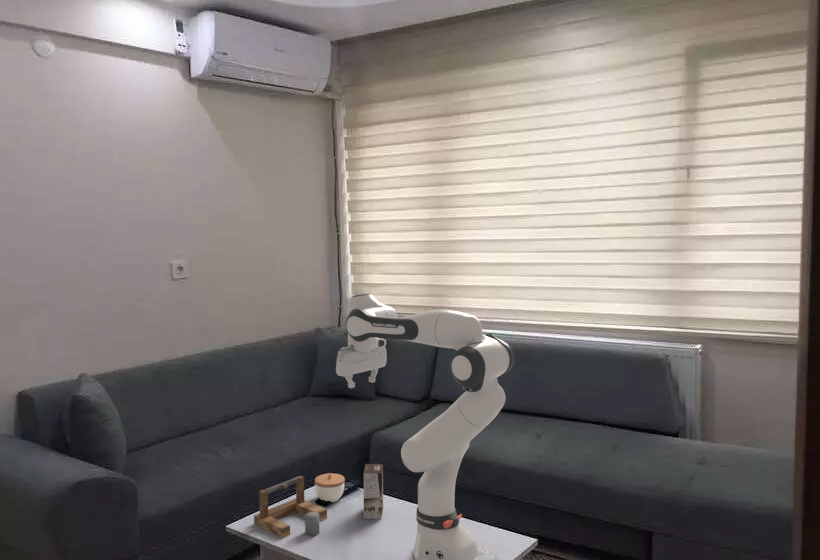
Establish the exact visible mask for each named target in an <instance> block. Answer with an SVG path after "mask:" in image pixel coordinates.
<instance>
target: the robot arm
mask: <svg viewBox="0 0 820 560" xmlns="http://www.w3.org/2000/svg"><path fill="white" fill-rule="evenodd" d="M345 320H346V321H345V329H346V332H347V346H342V347H340V349H339V350H338V351H337V357H336V365H335V373H336V375H337V376H340V377H344V378H345V380H346V381H347V387H348V388H349V389H353V388H356V382H355V381H353V377H354V375H356V374H360V373H365V372H369V371H370V376H368V382H369V383H371V384H372V383H376V378H377V377H376V376H377V374H378V373H379V369H381V368H384V367H386V365H387V361H388V355H387V354H388V353H387V348H386V346H387V340H386V339H389V340H391V339H392V340H399V341H408V342H412V343H418V344H423V345H428V346H433V347H436V348H437V347H438V348H445V349H453V350H455V352H453V353H452V355H451V357H450V359H449V370H450V373H451V375H452V377H453V379H454V380H455V382H456V383H457V384H458V385H459V387H460V388H461V389H462V390H463V391H465V392H463V393H462V394H461V395H460V396H459V397H458V398H457V399H456V400H455V401H454V402H453V403H452V404H451V405H450V406H449V407H448V408H447V409H446V410H445V411H444V412H442V413H441V414H440V415H438V416H437V417H436V418H434V419H433V420H432V421H431V422H429V423H428V424H427V425H425V426H424V427H423V428H421V429H420V430H419V431H417V433H416V434H414V435H413V436H411V437H410V438H408V439H407V440H406V441H404V442H403V445H402V447H401V449H400V455H401V456H400V457H401V460H402V463H403V465H404V466H405V467H406V468H407V469H408V470H409V471H411V472H413V473H422V472H424V473H423V474H422V476H421V477H420V478H419V480H418V483H417V506H416V519H415V521H416V523H417V527H416V536H415V541H414V545H413V546H414V547H413V549H412V556H413V558H414V560H474V559H475V557H477V555H478V553H479V552H478V551H479V550H478V544H477V540H476V539H475V537H473V536H472V535H471V533H470V532H469V531H468V530H467V529H466V528H465V527H464V526H463V525H462V523H461V522H460V519H462V518H463V514H462V513H460V514H459V515H458V512H457V510H456V507H455V502H456V499H455V497H456V496H455V493H456V483H457V482H456V481H457V477H458V473H459V469H460V466H461V463H462V460H463V458H464V455H465V454H466V452H467V450H468V449H469V448H470V444H471V441H472V440H473V439H474V438H476V436H477V435H478V434H479V433H481V432H482V431H483V430H484V429H485V428H486V427H487V426H489V424H490V423H491V422H492V421H493V420H494V419H495V418H496V417H497V415H498V414H499V413H500V412H501V411H502V408H503V407H504V405H505V404H506V394H505V390H504V388H503V387H502V386H501V385H500V384H499V381H498V377H502V376H504V375H506V374H507V373H508V372H510V370H511V369H512V368H513V366H514V364H515V354H514V351H513V349H512V347H511V346H510V345H509V344H508V343H507V342H506V341H503V340H502V339H500V338H498V337H497V336H495V335H494V334H492V333H487V334H484V333H483V332H484V331H483V326H482V323H481V321H480V320H479V318H478V317H476V316H475V315H472V314H469V313H468V312H467V313H466V312H462V311H458V310H451V309H432V310H431V309H430V310H427V311H421V312H418V313H415V314H410V315H407V316H405V315H404V316H400V317H399V314H398V312H397V310H396V309H395V308H394V307H393V306H390V305H387V304H385V303H382V302H381V301H379V300H378V299H376V297H375V296H374V294H372V293H362V294H355V295H352V296H351V297H350V298H349V300H348V305H347V317H346V319H345Z"/></svg>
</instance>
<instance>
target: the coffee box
mask: <svg viewBox="0 0 820 560" xmlns="http://www.w3.org/2000/svg"><path fill="white" fill-rule="evenodd" d="M383 510H384V464H383V463H370V464H369V463H365V464H364V469H363V519H364V520H365V519H368V520H370V519H373V520H374V519H375V520H381V519H382V517H383Z"/></svg>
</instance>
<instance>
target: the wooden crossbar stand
mask: <svg viewBox="0 0 820 560" xmlns="http://www.w3.org/2000/svg"><path fill="white" fill-rule="evenodd" d="M294 484H295V498H294V499H293V498H292V499H291V500H289V501H286V502H283V503H281V504H279V505H277V506H274V507H271V508H269V494H270V493H274V492H276V491H279V490H281V489H283V490H287V489H289V486H292V485H294ZM258 493H259V494H258V496H259V497H258V498H259V499H258V500H259V502H258V503H259V513H257V514H254V515H253V525H256V526H257V527H259V528H262V529H264V530H266V531H267V532H270V533H272V534H274V535H275V536H278V537H280V538H282V539H283V537H284V538H286V537H288V536H290V535H291V525H289V524H287V523H285V522H283V521H281V520H279V519H282V518H283V517H287V516H288V515H291V514H294V513H296V514H298V515H301V516H304V517H305V514H307V513H309V512H317V513H319V522H321V521H323V520H326V519H328V509H327V508H325V507H322V506H320V505H317V504H315V503H312V502H310V501H308V500H305V477H304V476H302V475H298V476H295V477H294V478H291V479H289V480H285V481H284V482H280V483H278V484H275V485H271V486H270V487H268V488H263V489H261V490H258Z"/></svg>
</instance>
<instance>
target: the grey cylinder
mask: <svg viewBox="0 0 820 560" xmlns="http://www.w3.org/2000/svg"><path fill="white" fill-rule="evenodd" d="M304 529H305V530H304V534H305V536H307V535H308V537H315V536H318V535H319V534H320V521H319V513H317V512H309V513H307V514H305V516H304Z"/></svg>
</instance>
